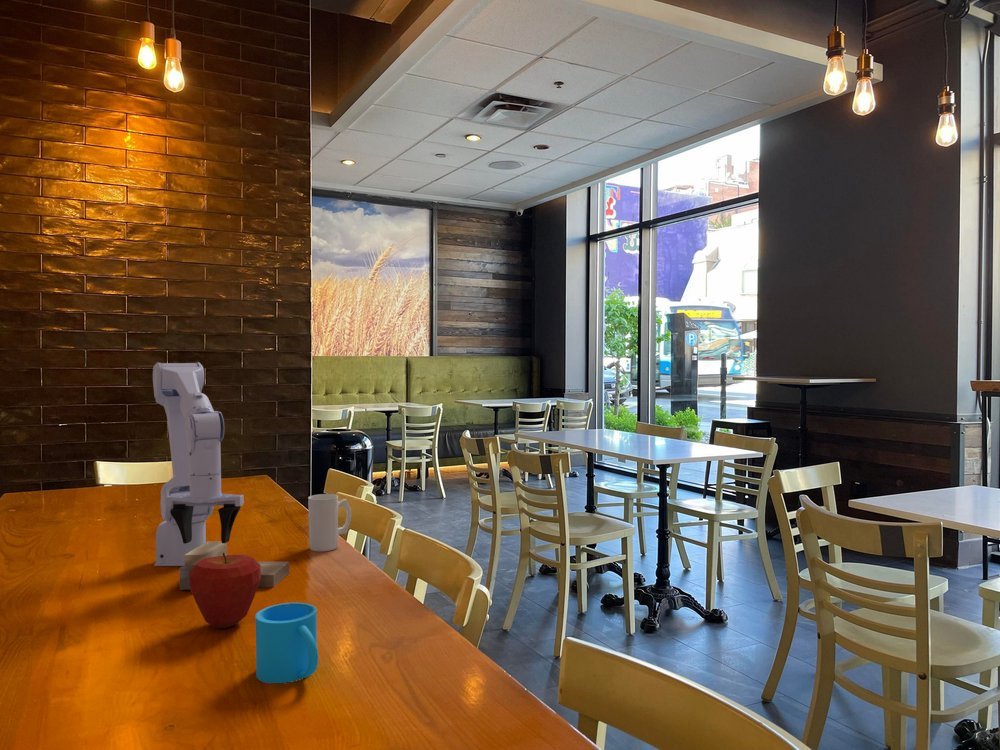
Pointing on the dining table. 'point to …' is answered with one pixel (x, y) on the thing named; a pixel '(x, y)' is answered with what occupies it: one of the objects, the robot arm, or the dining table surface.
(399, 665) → the dining table surface
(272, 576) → the plank
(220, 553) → the stepped beige block
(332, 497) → the mug
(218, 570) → the apple
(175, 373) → the robot arm
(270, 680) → the mug
